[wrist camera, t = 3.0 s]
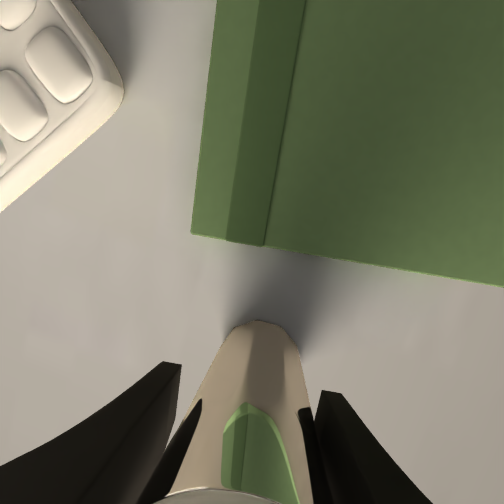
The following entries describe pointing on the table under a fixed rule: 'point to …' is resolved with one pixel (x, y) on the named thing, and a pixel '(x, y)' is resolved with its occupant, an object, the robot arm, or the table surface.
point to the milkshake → (245, 430)
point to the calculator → (48, 89)
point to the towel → (358, 133)
